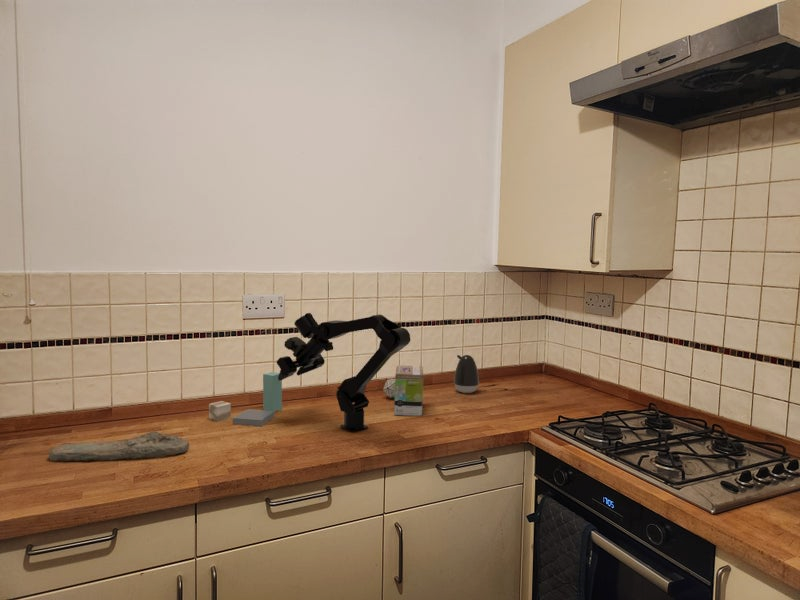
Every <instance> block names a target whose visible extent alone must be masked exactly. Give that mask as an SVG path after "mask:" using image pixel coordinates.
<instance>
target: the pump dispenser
mask: <svg viewBox="0 0 800 600" xmlns="http://www.w3.org/2000/svg"><path fill="white" fill-rule="evenodd" d="M456 357H457V358H458V362H457V365H456V368H455V372H454V377H453V384H454V386H455V387H454V388H456V390H457V392H460V393H461V392H462V393H461V394H473V393H474V392H475V391H476V390H477V389H478V387H479V385H480V377H479V371H478V370H479V369H478V366H477V363H476V361H475V359H474V358H473V356H472V355H469V354H464V355H460V354H457V356H456Z"/></svg>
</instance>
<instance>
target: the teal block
mask: <svg viewBox="0 0 800 600" xmlns="http://www.w3.org/2000/svg"><path fill="white" fill-rule="evenodd" d="M279 373H280V372H276V371H275V372H274V371H270V372H267V373H263V374H262V391H263V392H262V395H263V396H262V401H263V402H262V403H263V405H262V409H263V410H265V411H277V412H279V411H282V410H283V384H282V383H283V380H281V381H279V380H278V376H279ZM281 409H282V410H281ZM278 410H279V411H278Z"/></svg>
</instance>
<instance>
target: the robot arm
mask: <svg viewBox="0 0 800 600" xmlns="http://www.w3.org/2000/svg"><path fill="white" fill-rule="evenodd" d="M294 326H295V328H296V329H297V330H298V332H299V333H300V334H301V336H302V337H303V339H309V340H308V341H307V343H306V341H304V340H303V339H302V338H300V337H298V336H294V337H289V338H288V339H286V340H285V341H284V343H283V344H284V345H283V346H284V347H285V348H286V349H287V350H288V351H291V352H293V353H292V355H293V357H295V360H293V359H292V358H291V356H288V355H286V356H281V357H279V358H278V359H277V360H276V365H278V367H279V369H280V370H279V372H278V373H279V376H278V380H279V381H281V380H282V381H284V380H285V379H287V378H289V377H292V376H294V374H295V373H296V375H297V377H298V376H301V375H303V374H307V373H308V372H311V371H315V370H317V369H319V368H321V367H323V366H324V364H325V358H324V357H323V356H322V353H323V352H324V351H325V352H328V351H333V350H334V346H333V341H330V340H333V339H337V338H341V337H343V336H345V335H347V334H348V333H353V332H358V331H364V330H369V329H372V330H373V331H374V332H375V335H376V336H377V338H379V339H380V342H379V347H378V349H377V350H376V351H375V352H374V353H373V355H371V357H370V358H369V359H368V361H367V362H366V363H365V364H364V365H363V366H362V368H361V369H360V370H359V372H358V373H357V374H356V375H354V376H351V377H348V378H345V379H343V380H342V382H341V384H340V385H339V386H337V388H336V389H337V390H336V394H335V396H336V399H337V403H338V407H339V410H340V411H341V412H343V414H344V419H343V420H344V424H341V425H340V428H342V429H344V430H346V431H347V432H351V433H355V432H357V431H363V430H366V429H369V426H367V425H365V410H364V409H365V408H368V406H369V403H370V400H369V399H368V397H367V396H366V395H365V392H366V389H367V385H368V384H369V383H370V382H371V380H373V378H374V377H375V376H376V375H377V374H378V372H379V371H380V370H381V369H382V368H383V366H384V365H385V364H386V363H387V362H388V361H389V359H390V358H391V357H392V356H394V355H395V354H397V353H398V352H400V351H402V350H403V349H404V348H405V347H407V346H408V345H409V344H410V342H411V334H410V331H408V329H406V328H405V327H401V325H399V324H398V323H396V322H394V321H392V320H390V319H388V318H387V317H386V316H385V315H383V314H373V315H371V316H368V317H362V318H358V319H352V320H338V319H337V320H329V321H323V322H321V323H318V322H317V320H316V319H315V317H314V316H313V315H312V313H311V312H307V313H305V315H302V316H300V317H299V318H297V319H296V320H295V321H294Z"/></svg>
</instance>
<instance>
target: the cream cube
mask: <svg viewBox="0 0 800 600" xmlns="http://www.w3.org/2000/svg"><path fill="white" fill-rule="evenodd" d="M231 404H232V403H230V402H227V401H224V400H220V401H216V402H211V403H209V404H208V416H209V417H208V418H209V419H210V420H212V419H213V421H215V422H217V421H218V422H221V420H222V421H225V419H226V420H229V419H228V418H230V419H232V408H231V406H232V405H231Z"/></svg>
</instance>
